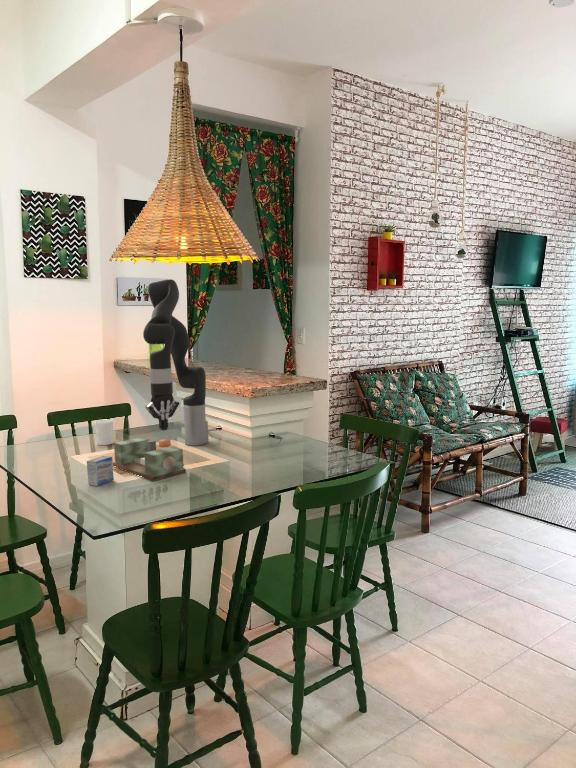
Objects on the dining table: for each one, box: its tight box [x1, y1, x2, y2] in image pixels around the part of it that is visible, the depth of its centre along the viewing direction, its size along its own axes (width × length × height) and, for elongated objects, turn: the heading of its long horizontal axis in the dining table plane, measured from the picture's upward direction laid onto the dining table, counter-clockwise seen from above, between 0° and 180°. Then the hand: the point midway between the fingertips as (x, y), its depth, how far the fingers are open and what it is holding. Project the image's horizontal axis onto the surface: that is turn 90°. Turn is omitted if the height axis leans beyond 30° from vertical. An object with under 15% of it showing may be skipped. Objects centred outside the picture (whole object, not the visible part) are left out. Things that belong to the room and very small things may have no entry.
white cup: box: [94, 419, 114, 446], centre depth 278 cm, size 8×8×10 cm
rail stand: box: [113, 437, 187, 482], centre depth 235 cm, size 14×28×9 cm, turn 43°
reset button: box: [158, 438, 172, 448], centre depth 225 cm, size 4×4×2 cm
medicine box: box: [86, 455, 115, 487], centre depth 220 cm, size 8×4×9 cm, turn 151°
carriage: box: [140, 439, 157, 465], centre depth 231 cm, size 8×6×9 cm
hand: (163, 429), depth 224 cm, fingers closed
